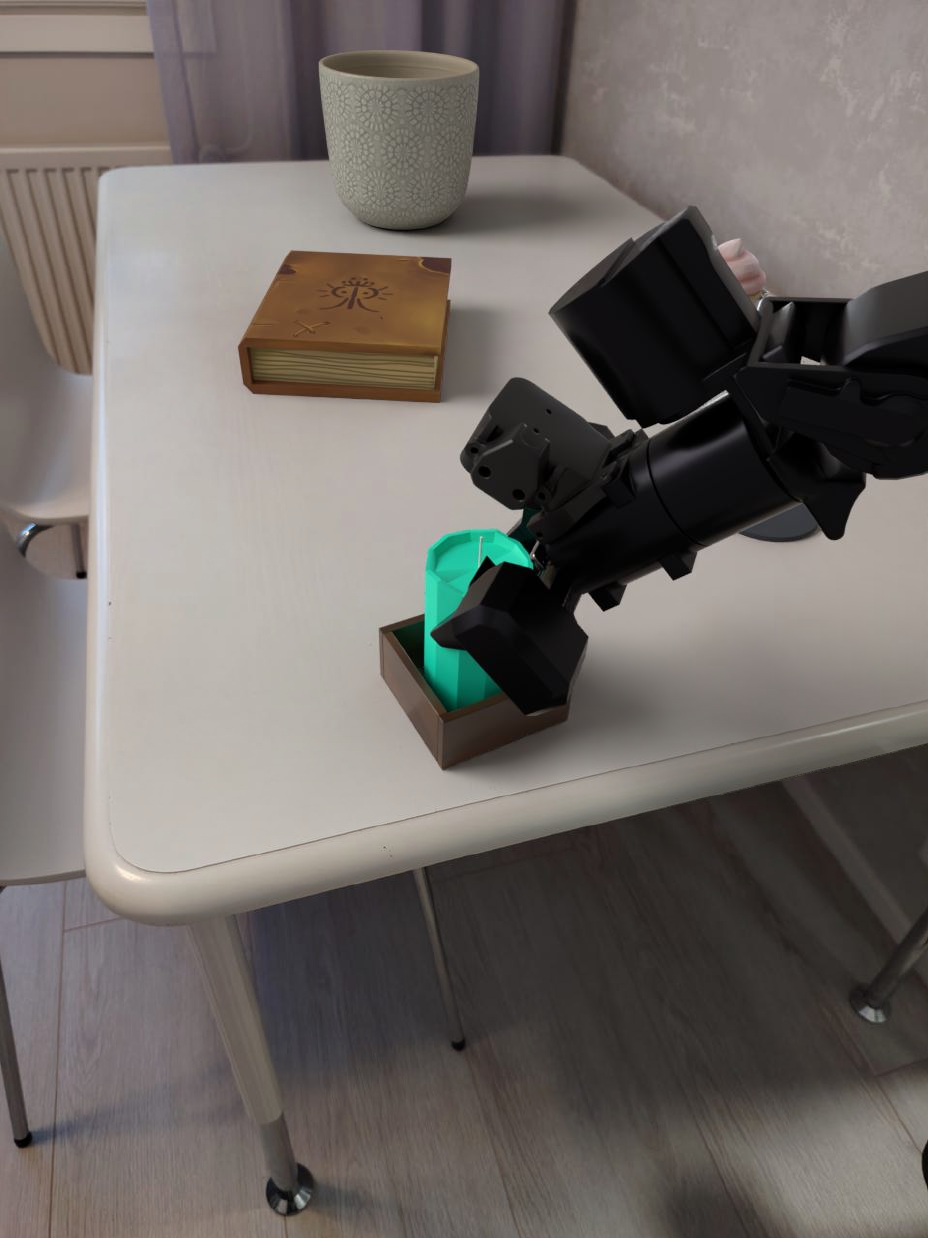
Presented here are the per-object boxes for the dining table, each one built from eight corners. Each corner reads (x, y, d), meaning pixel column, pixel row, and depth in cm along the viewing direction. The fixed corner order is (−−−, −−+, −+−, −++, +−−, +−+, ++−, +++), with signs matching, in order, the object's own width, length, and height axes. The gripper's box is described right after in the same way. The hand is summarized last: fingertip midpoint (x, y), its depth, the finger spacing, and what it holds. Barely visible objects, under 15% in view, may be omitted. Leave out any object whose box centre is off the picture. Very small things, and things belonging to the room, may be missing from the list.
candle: (443, 653, 56) (447, 497, 49) (531, 676, 55) (550, 519, 47) (408, 716, 52) (407, 555, 44) (503, 743, 51) (519, 582, 43)
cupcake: (760, 351, 94) (786, 257, 87) (674, 341, 95) (693, 247, 89) (756, 318, 101) (779, 229, 94) (675, 309, 102) (693, 220, 96)
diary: (289, 301, 100) (284, 249, 96) (450, 309, 100) (451, 257, 96) (244, 393, 83) (236, 334, 79) (439, 402, 83) (440, 344, 79)
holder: (567, 720, 52) (575, 673, 50) (441, 770, 49) (443, 723, 47) (497, 634, 58) (501, 588, 55) (380, 674, 55) (378, 627, 52)
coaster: (843, 524, 69) (844, 520, 69) (759, 553, 66) (760, 549, 66) (764, 470, 75) (765, 466, 75) (683, 494, 72) (684, 490, 72)
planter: (298, 221, 122) (284, 63, 109) (384, 188, 135) (381, 44, 123) (421, 252, 114) (421, 85, 101) (499, 214, 128) (508, 63, 115)
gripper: (627, 277, 44) (425, 427, 54) (511, 448, 31) (272, 605, 41) (745, 446, 47) (534, 558, 57) (687, 668, 34) (425, 763, 44)
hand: (453, 609), depth 50 cm, fingers closed on candle, 5 cm apart
